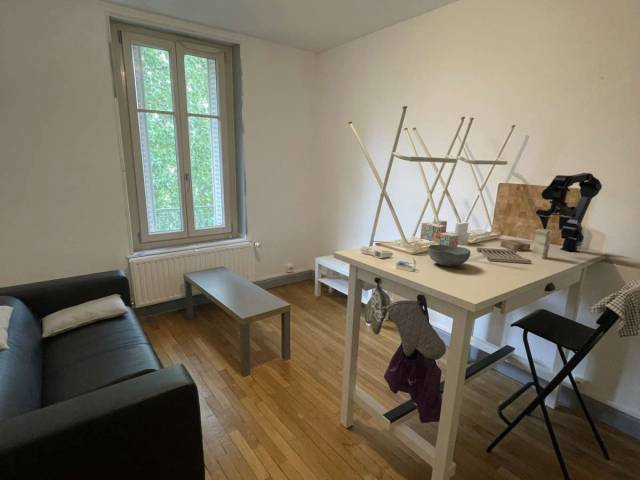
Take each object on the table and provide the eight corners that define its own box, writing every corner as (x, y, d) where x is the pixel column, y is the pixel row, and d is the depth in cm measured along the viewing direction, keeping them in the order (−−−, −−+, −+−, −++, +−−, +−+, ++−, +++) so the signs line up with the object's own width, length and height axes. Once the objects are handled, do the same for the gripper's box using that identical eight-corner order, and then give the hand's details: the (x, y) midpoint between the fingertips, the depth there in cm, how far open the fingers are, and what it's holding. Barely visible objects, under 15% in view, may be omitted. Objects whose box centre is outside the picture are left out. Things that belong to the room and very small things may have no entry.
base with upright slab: (463, 245, 191) (465, 224, 188) (448, 242, 197) (450, 222, 195) (470, 243, 196) (473, 223, 193) (456, 240, 203) (458, 220, 200)
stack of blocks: (456, 252, 175) (459, 229, 172) (447, 253, 172) (450, 230, 170) (427, 243, 194) (430, 222, 191) (419, 243, 191) (421, 222, 188)
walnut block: (515, 246, 194) (516, 240, 193) (529, 251, 184) (530, 244, 183) (500, 247, 192) (501, 240, 191) (513, 251, 182) (514, 244, 182)
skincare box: (445, 241, 198) (447, 221, 196) (439, 242, 197) (441, 221, 194) (437, 239, 204) (440, 219, 201) (432, 239, 203) (434, 219, 200)
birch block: (536, 255, 175) (541, 228, 172) (546, 257, 171) (552, 230, 168) (531, 256, 173) (536, 229, 169) (541, 258, 168) (547, 231, 165)
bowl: (465, 261, 158) (467, 245, 157) (471, 273, 142) (474, 254, 140) (425, 257, 163) (427, 241, 161) (426, 268, 146) (428, 250, 145)
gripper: (555, 200, 165) (548, 232, 169) (588, 202, 168) (581, 233, 171) (538, 198, 176) (532, 227, 179) (569, 200, 179) (563, 228, 182)
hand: (552, 229), depth 178 cm, fingers open, 9 cm apart
